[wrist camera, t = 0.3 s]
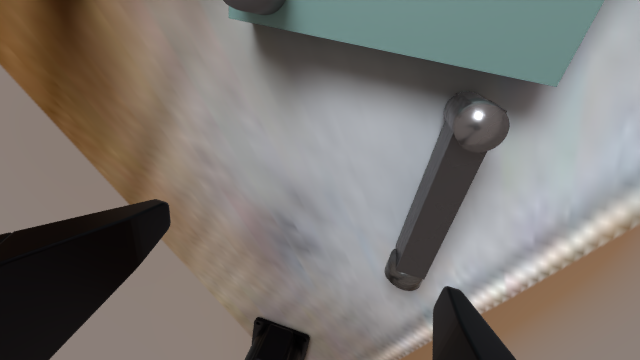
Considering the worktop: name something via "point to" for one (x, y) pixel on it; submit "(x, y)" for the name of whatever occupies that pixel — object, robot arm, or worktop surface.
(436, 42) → the stool seat
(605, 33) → the worktop surface
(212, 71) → the worktop surface
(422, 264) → the folding leg
